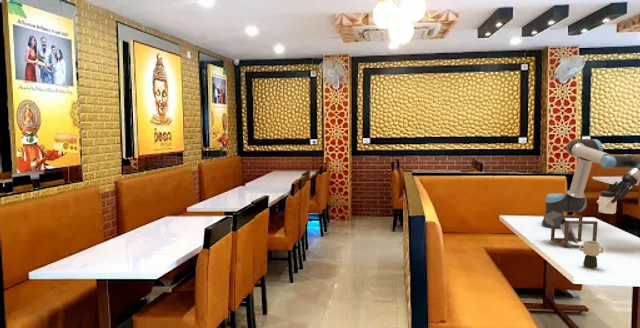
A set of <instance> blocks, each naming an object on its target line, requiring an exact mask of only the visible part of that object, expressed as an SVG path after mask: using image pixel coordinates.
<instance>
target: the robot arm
mask: <svg viewBox="0 0 640 328" xmlns="http://www.w3.org/2000/svg"><path fill="white" fill-rule="evenodd" d="M566 152H567V153H568V154H569V155H570V156H572V157H575V158H577V159H578V160H577V162H576V167H575V171H574V174H573V177H572V181H571V184H570V187H569V190H566V192H565V193H562V192H561V193H560V192H558V193H557V192H554V193H548V194H547V195H546V197H545V209H544V211H545V213H544V215H545V214H548V213H550V212H552V211H555V212H558V213H560V214H563V215H565V214H564V213H578V212H583V211H584V210H585V209H586V208H587V205H588V202H587V197H586V195H585V194H584V192H585V189H586V185H587V181H588V178H589V175H590V171H591V169H592V165H593V163H595V164H596V163H597V164H599V165H600V166H601V167H602V168H604V169H630V170H629V171H627V173H625V174H624V175H623V176H622V177H621V181H619V182H618V181H615V182H614V183H613V184H612V185H610V186H609V187H608V188H607V189H606V190H604V191H611V192H616V193H617V194H616V196H615V195H614V197H612V198H611V199H610V200H609V201H608V202H607V203H606V204H605V205H606V206H607V207H608V208H609V207H610V206H611V205H612V204H614V203H615V202H616V201H617V202H618V201H619V200H620V201H621V200H623V199H624V198H625V197H626V196H627V195H628V193H630V192H631V191H632V190H633V189H634V187H635V186H636V184H638V182H640V157H639V156H636V155H634V154H629V153H628V154H627V153H626V154H623V155H614V154H611V153H607V152H606V151H605V152H604V147H603V144H602V142H601V141H600V140H598V139H596V138H595V139H593V138H575V139H572V140H570V141H569V142H568V143H567V145H566ZM596 203H597V204H598V205H599V199H597V201H596ZM541 226H542V227H545V228H548V229H551V227H552V225H550V224H548V223H546V221H545V219H544V218H543V219H542V221H541ZM557 229H560V230H561V227H560V225H559V226H557V227H555V230H557Z"/></svg>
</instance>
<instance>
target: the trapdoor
mask: <svg viewBox="0 0 640 328" xmlns="http://www.w3.org/2000/svg"><path fill="white" fill-rule="evenodd" d="M563 215H564V214H560V213H558V212H555V211H552V212H550V213H548V214H545V213H544V214H543V215H542V216H543V219H545V221H546V223H548V224H550V225H552V226H554V227H557V226H559V225H560V227H561V229H560V230H561V231H562V234H563V235H564V231H565V221H567V220H566V218H564V216H563ZM576 238H577V237H576V234H575V232H574V230H573V228H572V226H571V224H569V229H568V239H569V240H571V241H570V242H573V243H574V244H579V241H577V239H576Z"/></svg>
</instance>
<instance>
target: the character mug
mask: <svg viewBox="0 0 640 328" xmlns="http://www.w3.org/2000/svg"><path fill="white" fill-rule="evenodd" d="M600 244H601V243H600V242H599V241H596V242H595V241H592V240H584V241H583V244H578V245H579V248H578V251H580V252H583V254H584V255H585V256H584V259H583V263H582V265H583V266H584V267H587V268H589V269H590V268H591V269H596V268H598V259H597V258H598V256H599V255H600V254H604V251H605V247H604V246H601V245H600ZM581 247H583V248H581ZM600 249H601V250H600Z"/></svg>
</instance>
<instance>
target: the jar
mask: <svg viewBox="0 0 640 328" xmlns="http://www.w3.org/2000/svg"><path fill="white" fill-rule="evenodd" d="M617 193H618V192H611V191H605V190H601V191H600V192H599V197H598V200H599V204H598V213H601V214H602V213H603V214H608V215H609V214H611V215H613V214H616V212H617V202H618V200H617V201H616V202H615V203H614V204H612V205H611V206H610V207H609V208H608V207H607V206H606V205H605V204H606V203H607V202H608V201H609V200H610V199H611V198H612V197H614V195H615V196H616V194H617Z"/></svg>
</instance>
